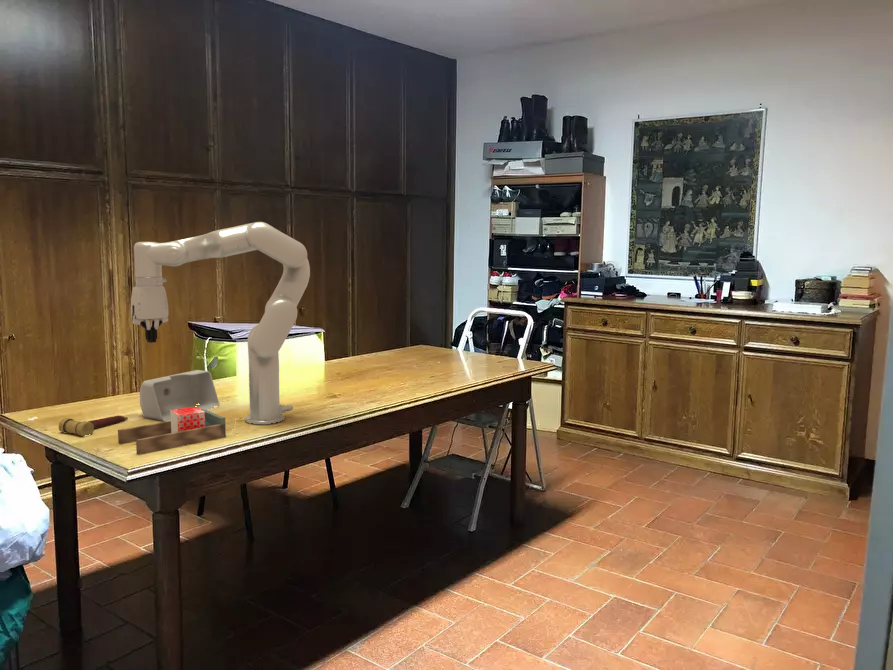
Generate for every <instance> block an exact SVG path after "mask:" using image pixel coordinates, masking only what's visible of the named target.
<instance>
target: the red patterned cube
mask: <svg viewBox="0 0 893 670" xmlns="http://www.w3.org/2000/svg"><path fill="white" fill-rule="evenodd" d="M170 412H171V420H170V421H171V433H175V432H180V431H185V430H191V429H196V428H201V427H205V412H204V411H203V410H201V409H200V408H198V407H190V408H182V409H173V410H170Z"/></svg>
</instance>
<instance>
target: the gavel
mask: <svg viewBox="0 0 893 670" xmlns="http://www.w3.org/2000/svg"><path fill="white" fill-rule="evenodd" d="M126 420H128V416H124V415H123V416H122V415H114V416H109V417H105V418H104V417H103V418H99V419H93V420H88V421H85V420H84V421H80V420H75V419H72V418H68V417H64V418H62V419H61V420H60V421H59V422H58V430H59V432H60V431H62V432H69V433H68V434H71V433H74V434H73V435H77V434H78V436H79V435H81V436H80V437H82V436H85V435H89V434H92V435H93V434H94V432H95V431H94V430H95V429H98V427H99V428H103V426H104V427H107V425H108V426H112V425H111V424H113V425H116V423H117V424H120V422H121V423H123V422H125V421H126ZM62 432H61V433H62Z"/></svg>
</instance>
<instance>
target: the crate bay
mask: <svg viewBox="0 0 893 670" xmlns="http://www.w3.org/2000/svg"><path fill="white" fill-rule="evenodd" d="M201 410H203V411H204V412H205V427H201V428H196V429H191V430H185V431H180V432H175V433H171V420H169V421H161V422H156V423H150V424H144V425H138V426H132V427H127V428H122V429H118V430H117V435H118V436H117V439H118V441H117V443H118V444H119V445H122V444H123V443H124V444H128V443H129V444H130V443H134V442H135V447H136V448H135V449H136V455H144V454H147V453H148V454H149V453H153V452H159V451H163V450H168V449H173V448H177V447H179V448H180V447H182V446H183V445H184V446H188V444H189V445H193V444H198V442H199V443H204V442H208V440H209V441H212V440H213V439H214V440H218V439H217V438H219V439H222V437H224V438H226V437H227V434H226V433H227V432H226V431H227V430H226V428H227V427H226V417H224V416H222V415H219V414H217V413H214V412H212V411H210V410H205V409H201ZM203 441H204V442H203Z"/></svg>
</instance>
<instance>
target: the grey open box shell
mask: <svg viewBox="0 0 893 670" xmlns="http://www.w3.org/2000/svg"><path fill="white" fill-rule="evenodd" d="M214 383H215V382H214V380H213V376H212V374H211V372H210V371H208V370H200V369H195V370H191V371H186V372H181V373H176V374H171V375H167V376H166V375H165V376H161V377H157V378H152V379H147V380H143V381H142V383H141V386H140V389H139V406H140V409H141V412H142V416H143V418H145V419H150V420H154V421H155V420H156V421H161V422H166V421H168V420H169V421H171V412H170V410H173V409H182V408H190V407H195V406H197V407H198V408H200V409H205V410H207V409H209V410H212V409H215V408H214V406H220V399H219V397H218V394H217V391H216V386H215V384H214ZM198 403H199V404H200V405H196V404H198ZM211 408H212V409H211ZM207 411H208V410H207Z"/></svg>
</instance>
